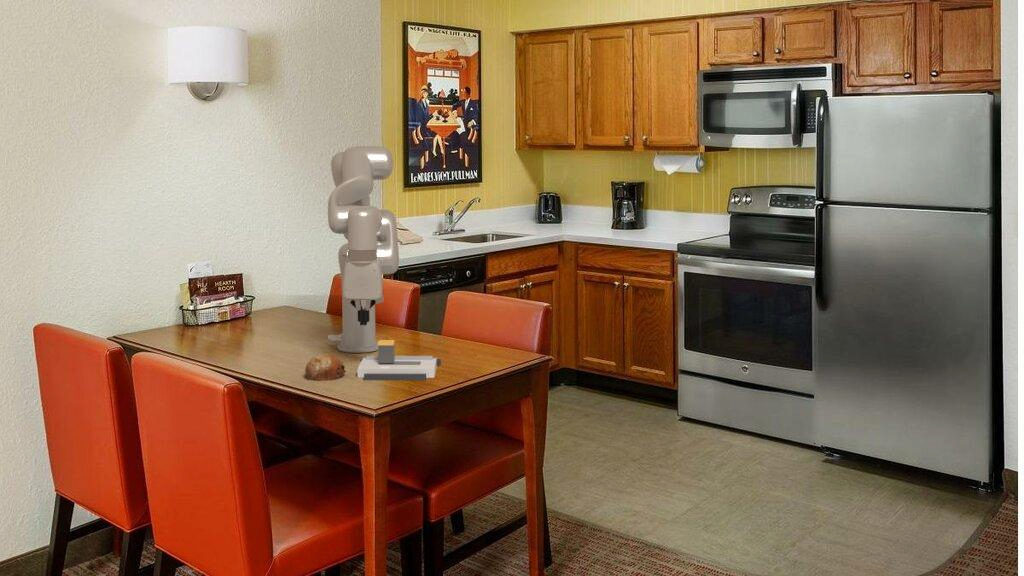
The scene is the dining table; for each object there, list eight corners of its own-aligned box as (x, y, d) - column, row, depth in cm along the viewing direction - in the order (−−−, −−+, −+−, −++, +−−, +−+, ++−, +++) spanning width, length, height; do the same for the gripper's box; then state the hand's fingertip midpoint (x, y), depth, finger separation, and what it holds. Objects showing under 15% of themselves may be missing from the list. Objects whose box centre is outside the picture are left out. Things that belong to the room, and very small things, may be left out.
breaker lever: (378, 363, 257) (378, 342, 256) (379, 360, 260) (379, 339, 259) (393, 363, 257) (393, 342, 256) (394, 360, 260) (394, 340, 259)
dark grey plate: (352, 380, 250) (352, 374, 250) (361, 363, 267) (361, 358, 267) (437, 380, 250) (437, 375, 250) (440, 364, 268) (440, 359, 268)
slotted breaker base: (357, 377, 252) (357, 365, 252) (363, 366, 264) (363, 355, 264) (434, 377, 253) (434, 365, 253) (436, 366, 265) (436, 355, 264)
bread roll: (315, 385, 259) (301, 359, 257) (350, 368, 259) (336, 342, 257) (310, 395, 249) (296, 368, 247) (347, 378, 249) (333, 350, 248)
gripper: (332, 257, 249) (333, 327, 252) (390, 258, 250) (391, 327, 253) (335, 254, 257) (337, 321, 260) (392, 254, 258) (392, 321, 261)
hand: (363, 324), depth 257 cm, fingers closed
